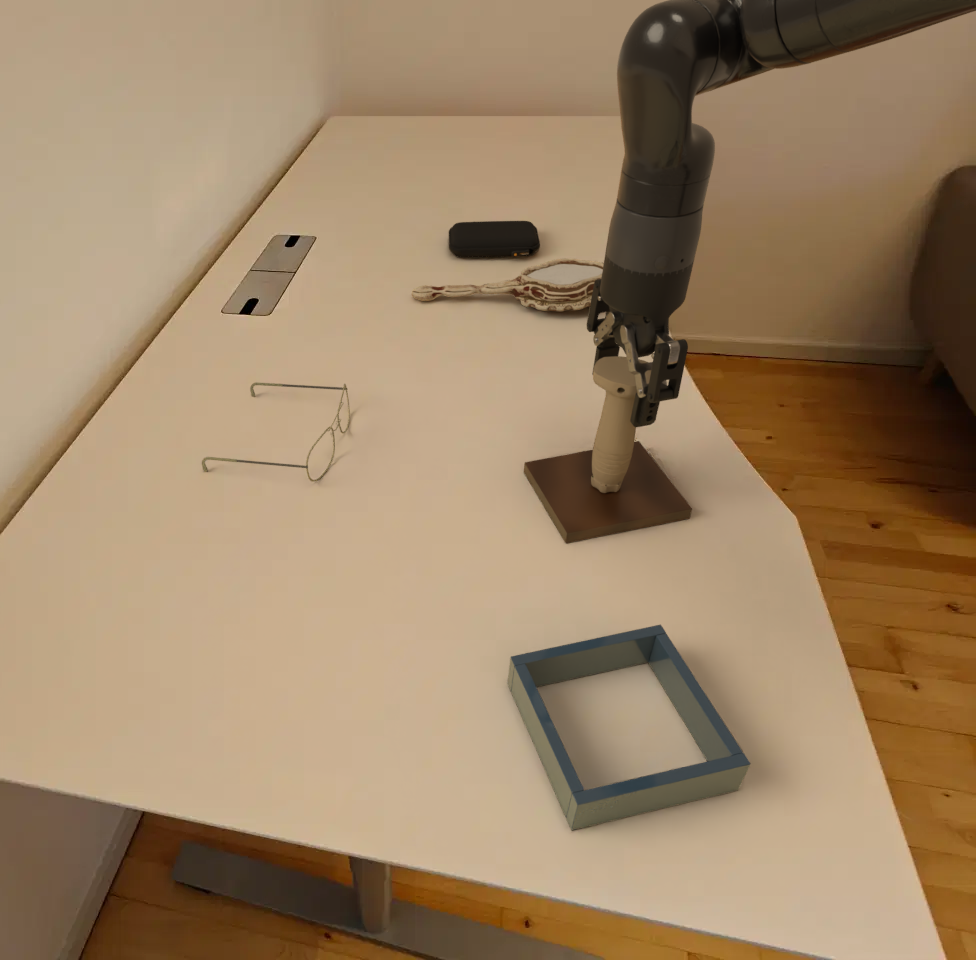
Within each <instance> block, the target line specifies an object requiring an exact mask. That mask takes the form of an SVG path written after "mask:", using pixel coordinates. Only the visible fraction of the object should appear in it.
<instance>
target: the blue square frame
mask: <svg viewBox="0 0 976 960" xmlns="http://www.w3.org/2000/svg"><path fill="white" fill-rule="evenodd" d="M643 664H648V665H649V667H650V669H651V670H652V672H653V673H654V675H655V676H656V677H655V678H657V680H658V682H659V683H660V685H661V686H662V687H661V688H663V690H664V692H665V693H666V695H667V697H668V699H669V700H670V702H671V703H672V705H673V706H674V709H675V710H676V711H677V713H678V715H679V717H680V718H681V719H682V722H683V723H684V724H685V726H686V728H687V730H688V731H689V733H690V734H691V736H692V738H693V740H694V741H695V744H696V745H697V746H698V748H699V750H700V751H701V753H702V755H703V757H704V758H705V759H706V761H703V762H699V763H695V764H690V765H685V766H682V767H677V768H674V769H673V768H672V769H669V770H665V771H660V772H657V773H653V774H648V775H645V776H644V775H643V776H639V777H634V778H631V779H627V780H623V781H618V782H614V783H613V782H612V783H610V784H606V785H601V786H597V787H596V786H595V787H592V788H589V789H584V786H583V784H582V782H581V779H580V777H579V775H578V774H577V773H578V772H577V771H576V769H575V767H574V765H573V763H572V761H571V759H570V756H569V755H568V752H567V750H566V747H565V745H564V744H563V743H564V742H563V741H562V738H561V737H560V735H559V733H558V731H557V729H556V726H555V725H554V724H555V723H554V722H553V720H552V717H551V715H550V713H549V711H548V709H547V707H546V705H545V702H544V700H543V698H542V696H541V694H540V691H539V690H538V687H542V686H549V685H552V684H557V683H561V682H565V681H570V680H575V679H580V678H583V677H589V676H593V675H597V674H602V673H606V672H612V671H615V670H616V671H617V670H620V669H626V668H629V667H634V666H635V667H636V666H638V665H643ZM507 674H508V675H507V676H508V677H507V682H506V685H507V687H508V688H509V691H510V693H511V695H512V698H513V699H514V702H515V704H516V707H517V709H518V711H519V714H520V717H521V718H522V721H523V723H524V725H525V727H526V730H527V732H528V734H529V736H530V737H529V738H530V739H531V741H532V743H533V746H534V748H535V750H536V752H537V755H538V758H539V759H540V762H541V765H542V766H543V768H544V771H545V773H546V776H547V778H548V780H549V783H550V784H551V787H552V790H553V792H554V794H555V797H556V799H557V801H558V803H559V806H560V808H561V810H562V812H563V815H564V818H565V820H566V821H567V824H568V826H569V828H570V830H571V831H576V830H579V829H583V828H587V827H591V826H597V825H601V824H604V823H608V822H612V821H617V820H621V819H625V818H630V817H633V816H638V815H642V814H645V813H649V812H655V811H658V810H663V809H667V808H671V807H675V806H679V805H683V804H684V805H685V804H688V803H692V802H696V801H700V800H704V799H709V798H713V797H717V796H720V795H725V794H729V793H734V792H737V791H739V789H740V787H741V785H742V783H743V781H744V779H745V777H746V775H747V773H748V772H749V769H750V768H751V765H752V764H751V762H750V760H749V759H748V757H747V755H746V754H745V753H744V751H743V750H742V748H741V746H740V745H739V743H738V742H737V741H736V739H735V737H734V736H733V734H732V732H731V731H730V730H729V727H727V725H726V723H725V721H724V720H723V719H722V718H721V715H720V714H719V712H718V711H717V709H716V707H715V706H714V704H713V703H712V702H711V701H710V700H711V699H709V697H708V696H707V694H706V693H705V691H704V689H703V688H702V686H701V685H700V683H699V681H698V680H697V678H696V677H695V675H694V674H693V672H692V670H691V669H690V668H689V666H688V664H687V662H686V661H685V660H684V658H683V657H682V656H681V654H680V652H679V650H678V649H677V647H676V646H675V644H674V643H673V641H672V640H671V638H670V637H669V635H668V633H667V631H666V630H665V629H664V627H663V626H662V624H655V625H651V626H646V627H642V628H638V629H637V628H636V629H633V630H628V631H623V632H619V633H613V634H609V635H605V636H602V637H596V638H591V639H585V640H581V641H577V642H571V643H567V644H562V645H558V646H553V647H548V648H544V649H543V648H542V649H538V650H535V651H529V652H525V653H519V654H515V655H511V656H510V657H509V665H508V673H507Z"/></svg>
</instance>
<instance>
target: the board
mask: <svg viewBox="0 0 976 960" xmlns="http://www.w3.org/2000/svg"><path fill="white" fill-rule="evenodd" d="M592 453H593V449H588V450H583V451H577V452H573V453H567V454H562V455H556V456H551V457H546V458H541V459H535V460H531V461H525V462H524V465H523V474H524V476H525V477H526V479H527V481H528V482H529V484H530V486H531V488H532V489H533V491H534V493H535V495H536V496H537V498H538V499H539V501H540V503H541V505H542V506H543V508H544V510H545V512H546V513H547V514H548V516H549V518H550V520H551V521H552V523H553V524H554V526H555V528H556V529H557V532H558V533H559V535H560V536H561V538H562V540H563V541H564V543H565V544H570V543H574V542H580V541H584V540H589V539H594V538H599V537H604V536H610V535H614V534H619V533H624V532H631V531H635V530H639V529H644V528H650V527H656V526H659V525H664V524H669V523H674V522H678V521H679V522H680V521H684V520H689V519H690V518H691V515H692V510H693V507H692V506H691V505H690V503H688V501H687V500H686V499H685V497H684V496H683V495H682V494H681V492H680V491H679V490H678V488H677V486H675V485H674V483H673V482H672V481H671V480H670V478H669V477H668V475H666V473H665V472H664V471H663V469H662V468H661V466H659V464H658V463H657V462H656V460H655V459H654V458H653V457H652V455H651V454H650V453H649V452H648V451H647V449H646V448H645V447H644V445H643V444H642V443H641V442H640V441H639V440H635V441H634V447H633V452H632V457H631V460H630V464H629V467H628V470H627V472H626V474H625V476H624V479H623V481H622V484H621V487H620V489H619V490H618V491H617V492H607V493H602V492H600V491H599V490H598V489H597V488H596V487H593V486H592V484H591V476H592V475H593V473H592Z"/></svg>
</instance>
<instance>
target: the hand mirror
mask: <svg viewBox="0 0 976 960" xmlns="http://www.w3.org/2000/svg"><path fill="white" fill-rule="evenodd" d="M603 265H604V262H601V261H594V260H586V259H577V258H557V259H552V260H549V261H546V262H543V263H540V264H537V265H531V266H528V267H526V268H524V269H522V271H520V274H519V275H518V276H517V277H515V278H513V279H506V280H502V281H498V282H491V283H483V284H481V285H475V284H462V285H461V284H460V285H457V284H456V285H455V284H454V285H453V284H452V285H450V284H449V285H448V284H446V285H442V286H435V285H421V286H417V287H415V288H413V289H412V290H411V296H412V298H414V299H415V300H418V301H422V302H427V301H433V300H435V299H436V298H438V297H440V296H445V297H447V298H458V297H469V296H473V295H475V294H477V295H511V296H513V297H514V298H515V300H517V301H519V302H520V305H521V306H523V307H525V308H533V309H536V310H537V311H541V312H566V311H579V310H583V309H585V308H590V303H591V298H592V293H593V287H594V282H595V280H597V279H601V278H602V272H603Z"/></svg>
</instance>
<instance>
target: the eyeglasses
mask: <svg viewBox="0 0 976 960" xmlns="http://www.w3.org/2000/svg"><path fill="white" fill-rule="evenodd" d="M256 386H264V387H265V386H267V387H280V388H281V387H282V388H283V387H285V388H301V389H302V388H303V389H320V390H321V389H322V390H335V391H336V390H338V391H342V393H341V397H340V400H339V403H338V408H337V413H336V414H335V417H334V419H333V421H332V423H331V425H330V426H328V427H327V428H326V429H324V431H323V432H322V433H321V435H320V436H319V437H318V439H316V441H315V442H314V443H313V444H312V446H311V448H310V449H309V451H308V453H307V456H306V460H305V465H303V464H302V465H301V464H290V463H279V462H267V461H258V460H257V461H255V460H244V459H237V458H225V457H215V456H205V457H203V458H202V460H201V467H202V471H203V472H208V467H207V465H206V461H208V460H209V461H218V462H219V461H220V462H228V463H229V462H230V463H245V464H256V465H265V466H266V465H267V466H278V467H289V468H298V469H299V468H301V469H305V470H306V475H307V479H308V480H309V481H310V482H317V481H319V480H320V479H321V478H322V477H323V476H324V475H325V474H326V473H327V471H328V470H329V468H330V466H331V465H332V462H333V459H334V457H335V450H336V441H335V440H336V439H335V431H337V429H338V428H339V431H340V433H341V434H345V433H346V432H347V431H348V428H349V426H350V421H351V409H350V401H349V400H350V399H349V394H348V387H347V385H346V383H344V384H343V386H342V387H339V386H322V385H321V386H319V385H304V384H302V385H301V384H285V383H274V382H257V381H256V382H253V383H252V384H251V385H250V388H249V391H250V395H251V397H254V398H255V397H256V393H255V390H254V387H256ZM344 393H345V394H346V401H347V412H348V415H347V416H348V418H347V424H346V428H345V429H344V430H343V429H342V426H341V421H342V418H340V412H341V410H342V408H343V405H344V402H343V398H344ZM336 419H337V420H336ZM334 423H335V425H336V428H335V429H334V428H333V426H334ZM330 431H331V432H330ZM327 432H330V435H332V444H333V445H332V455H331V458H330V460H329V463H328V466H327V467H326V468H325V470H324V471H323V473H322V474H321V475H320V476H318V478H316V479H312V478H311V476H310V473H309V459H310V456H311V453H312V451H313V450H314V447H315V446H316V445H317V444H318V443H319V441H320V440H321V439H322V438H323V436H324V435H325V434H326V433H327Z"/></svg>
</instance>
